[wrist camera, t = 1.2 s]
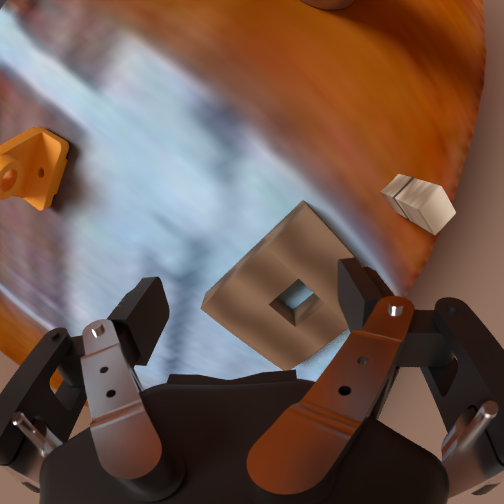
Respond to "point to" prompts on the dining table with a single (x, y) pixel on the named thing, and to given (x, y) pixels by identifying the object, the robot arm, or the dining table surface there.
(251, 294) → the board
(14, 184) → the bracket
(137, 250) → the dining table surface
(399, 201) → the peg
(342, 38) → the dining table surface
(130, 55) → the dining table surface
